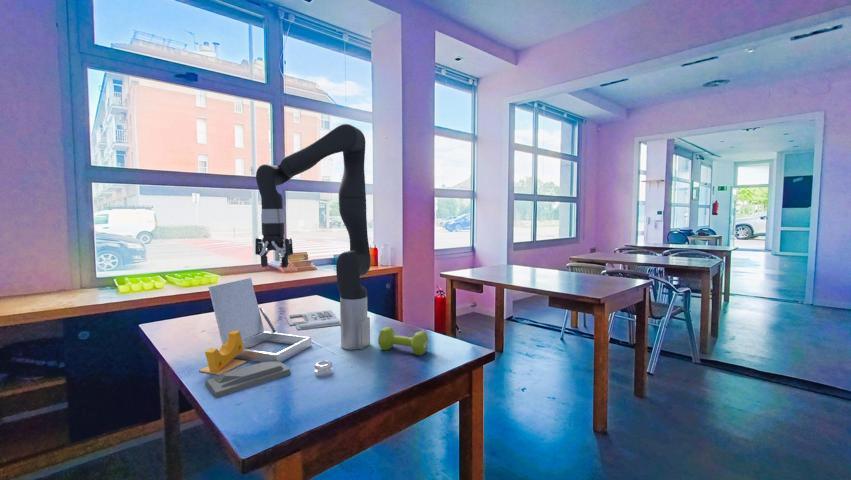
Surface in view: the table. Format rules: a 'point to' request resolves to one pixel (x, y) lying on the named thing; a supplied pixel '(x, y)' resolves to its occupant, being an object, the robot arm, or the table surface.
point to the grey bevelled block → (246, 377)
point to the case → (260, 356)
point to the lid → (236, 309)
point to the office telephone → (315, 320)
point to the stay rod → (267, 319)
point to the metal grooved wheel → (323, 368)
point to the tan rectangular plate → (226, 368)
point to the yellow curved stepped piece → (224, 352)
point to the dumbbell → (403, 340)
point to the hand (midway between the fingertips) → (274, 267)
